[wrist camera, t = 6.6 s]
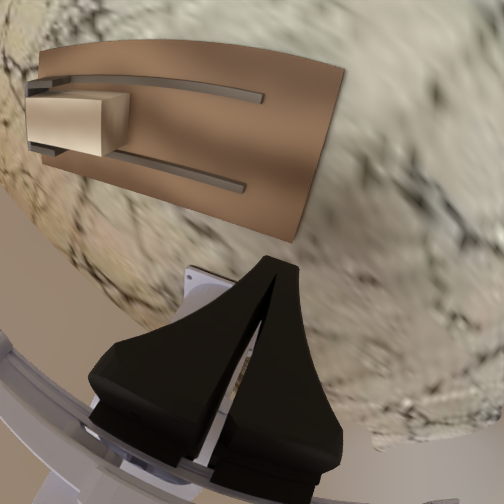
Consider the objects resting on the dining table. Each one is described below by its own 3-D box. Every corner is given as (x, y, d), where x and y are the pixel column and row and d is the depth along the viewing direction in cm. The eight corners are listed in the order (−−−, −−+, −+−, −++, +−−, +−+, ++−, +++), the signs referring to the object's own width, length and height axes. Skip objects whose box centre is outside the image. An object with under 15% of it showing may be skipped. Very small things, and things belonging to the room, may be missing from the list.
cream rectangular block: (127, 143, 20) (101, 156, 17) (51, 130, 21) (27, 140, 19) (130, 93, 17) (101, 100, 15) (51, 90, 19) (25, 98, 16)
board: (294, 237, 21) (284, 264, 19) (47, 161, 24) (24, 173, 22) (344, 69, 14) (343, 67, 11) (45, 50, 17) (18, 55, 15)
